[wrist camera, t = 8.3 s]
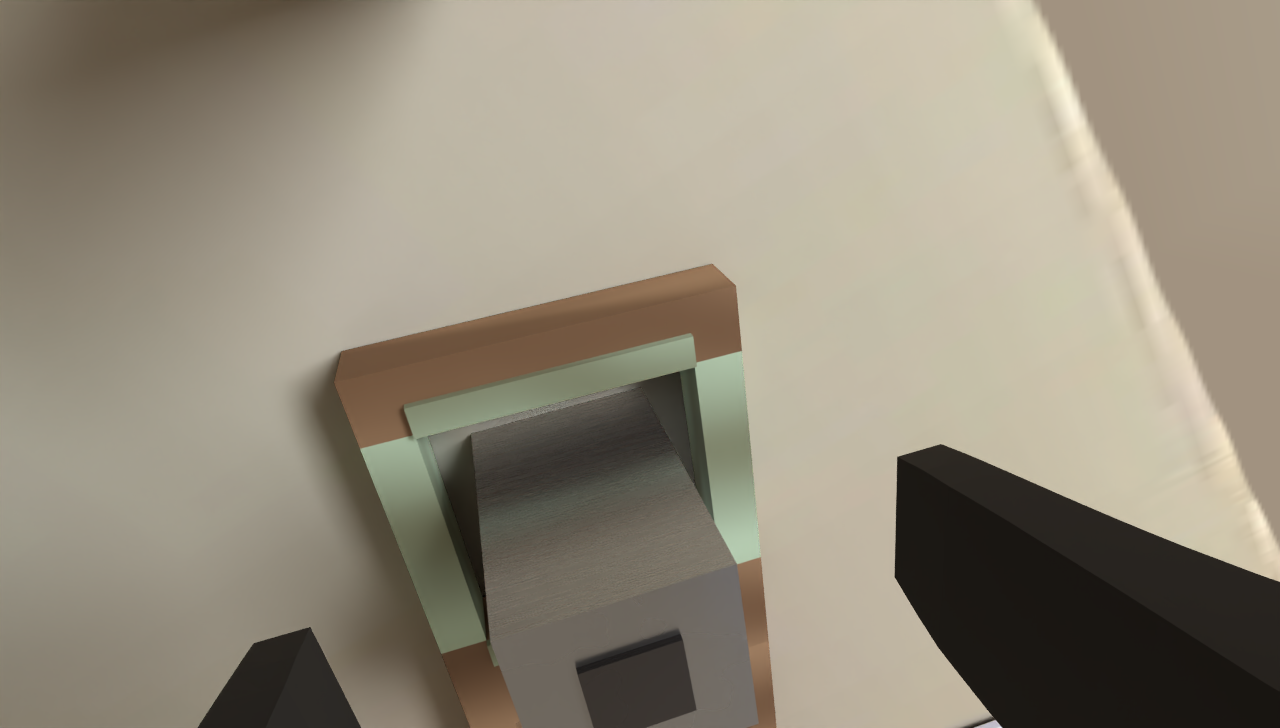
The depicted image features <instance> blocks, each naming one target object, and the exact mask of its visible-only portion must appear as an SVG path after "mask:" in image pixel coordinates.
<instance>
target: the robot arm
mask: <svg viewBox="0 0 1280 728" xmlns="http://www.w3.org/2000/svg"><path fill="white" fill-rule="evenodd" d="M895 578H896V580H897V582H898V583H899V585H900V587H901V588H902V590H903V592H904V593H905V595H906V597H907V598H908V600H909V602H910V603H911V605H912V607H913V608H914V610H915V612H916V613H917V615H918V617H919V618H920V620H921V621H922V623H923V624H924V626H925V627H926V629H927V631H928V632H929V634H930V635H931V637H932V638H933V640H934V642H935V643H936V645H937V646H938V648H939V649H940V650H941V652H942V653H943V654H944V655H945V657H946V658H947V659H948V661H949V662H950V663H951V664H952V666H953V667H954V668H955V670H956V671H957V672H958V673H959V675H960V676H961V677H962V678H963V680H964V681H965V682H966V683H967V685H968V686H969V687H970V688H971V690H972V691H973V692H974V693H975V695H976V696H977V697H978V699H979V700H980V701H981V702H982V704H983V705H984V706H985V707H986V709H987V710H988V711H989V712H990V713H991V715H992V716H993V717H994V718H995V720H994V721H991V722H988V723H985V724H982V725H980V726H977V727H974V728H1280V582H1278V581H1275V580H1272V579H1270V578H1267V577H1264V576H1261V575H1258V574H1256V573H1253V572H1250V571H1248V570H1245V569H1242V568H1240V567H1237V566H1234V565H1232V564H1229V563H1226V562H1224V561H1221V560H1218V559H1216V558H1213V557H1210V556H1208V555H1205V554H1203V553H1200V552H1197V551H1195V550H1192V549H1189V548H1187V547H1184V546H1181V545H1179V544H1176V543H1174V542H1171V541H1169V540H1167V539H1164V538H1162V537H1159V536H1157V535H1154V534H1152V533H1149V532H1147V531H1144V530H1142V529H1139V528H1137V527H1134V526H1132V525H1130V524H1127V523H1125V522H1122V521H1120V520H1118V519H1115V518H1113V517H1111V516H1108V515H1106V514H1103V513H1101V512H1099V511H1096V510H1094V509H1092V508H1089V507H1087V506H1085V505H1082V504H1080V503H1078V502H1075V501H1073V500H1071V499H1069V498H1066V497H1064V496H1062V495H1059V494H1057V493H1055V492H1052V491H1050V490H1048V489H1046V488H1043V487H1041V486H1039V485H1037V484H1034V483H1032V482H1030V481H1027V480H1025V479H1023V478H1021V477H1018V476H1016V475H1014V474H1011V473H1009V472H1007V471H1005V470H1002V469H1000V468H998V467H995V466H993V465H991V464H988V463H986V462H984V461H981V460H979V459H977V458H974V457H972V456H970V455H967V454H965V453H962V452H960V451H957V450H955V449H952V448H949V447H947V446H944V445H941V444H940V445H937V446H933V447H930V448H926V449H923V450H919V451H916V452H913V453H909V454H906V455H902V456H899V457H897V499H896V543H895ZM198 728H361V727H360V725H359V723H358V721H357V719H356V717H355V715H354V713H353V711H352V709H351V707H350V705H349V703H348V701H347V699H346V697H345V695H344V693H343V691H342V689H341V687H340V685H339V683H338V681H337V679H336V677H335V675H334V673H333V671H332V669H331V667H330V665H329V663H328V661H327V659H326V657H325V655H324V653H323V651H322V649H321V647H320V645H319V643H318V642H317V640H316V638H315V636H314V634H313V632H312V630H311V628H310V627H309V628H305V629H302V630H299V631H295V632H292V633H288V634H285V635H281V636H278V637H274V638H271V639H267V640H264V641H261V642H257V643H254V644H253V645H252V647H251V648H250V649H249V651H248V652H247V654H246V655H245V657H244V658H243V660H242V661H241V663H240V664H239V666H238V667H237V669H236V670H235V672H234V673H233V675H232V676H231V678H230V679H229V681H228V682H227V684H226V685H225V687H224V688H223V690H222V691H221V693H220V694H219V696H218V697H217V699H216V700H215V702H214V703H213V705H212V707H211V708H210V710H209V711H208V713H207V714H206V716H205V717H204V719H203V720H202V722H201V723H200V725H199V726H198Z"/></svg>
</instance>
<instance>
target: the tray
mask: <svg viewBox="0 0 1280 728" xmlns="http://www.w3.org/2000/svg"><path fill="white" fill-rule="evenodd" d="M679 371H680V377H681V384H682V391H683V399H684V406H685V413H686V420H687V427H688V435H689V442H690V449H691V456H692V463H693V471H694V478H695V485H696V489H697V491H698V493H699V495H700V497H701V499H702V501H703V502H704V504H705V506H706V508H707V510H708V512H709V513H710V515H711V517H712V519H713V521H714V523H715V524H716V526H717V528H718V530H719V532H720V534H721V535H722V537H723V539H724V541H725V543H726V545H727V546H728V548H729V550H730V552H731V554H732V556H733V558H734V559H735V561H736V563H737V568H738V575H739V582H740V590H741V597H742V604H743V612H744V619H745V626H746V634H747V641H748V648H749V656H750V663H751V670H752V678H753V685H754V692H755V700H756V707H757V714H758V722H759V724H756V725H753V726H750V727H747V728H776V718H775V707H774V696H773V685H772V674H771V664H770V653H769V642H768V631H767V620H766V609H765V598H764V587H763V576H762V566H761V555H760V544H759V533H758V522H757V511H756V500H755V489H754V478H753V468H752V457H751V446H750V435H749V424H748V413H747V402H746V391H745V380H744V370H743V359H742V348H741V337H740V326H739V315H738V304H737V293H736V285H735V284H734V283H732V282H731V281H730V280H729V279H728V278H727V277H726V276H725V275H724V274H723V273H722V272H721V271H720V270H718V269H717V268H716V267H715V266H714V265H713V264H710V265H706V266H702V267H698V268H693V269H689V270H685V271H681V272H676V273H672V274H668V275H664V276H659V277H655V278H651V279H647V280H642V281H638V282H634V283H630V284H625V285H621V286H617V287H613V288H608V289H604V290H600V291H596V292H591V293H587V294H583V295H579V296H574V297H570V298H566V299H562V300H557V301H553V302H549V303H545V304H540V305H536V306H532V307H528V308H523V309H519V310H515V311H511V312H506V313H502V314H498V315H494V316H489V317H485V318H481V319H477V320H472V321H468V322H464V323H460V324H455V325H451V326H447V327H443V328H438V329H434V330H430V331H426V332H421V333H417V334H413V335H409V336H405V337H400V338H396V339H392V340H388V341H383V342H379V343H375V344H371V345H366V346H362V347H358V348H354V349H349V350H345V351H342V352H341V356H340V360H339V364H338V368H337V372H336V376H335V380H334V384H335V387H336V389H337V392H338V394H339V397H340V400H341V402H342V405H343V407H344V410H345V412H346V415H347V417H348V420H349V422H350V425H351V427H352V430H353V432H354V435H355V437H356V440H357V442H358V445H359V447H360V450H361V453H362V455H363V458H364V460H365V463H366V465H367V468H368V470H369V473H370V475H371V478H372V480H373V483H374V485H375V488H376V490H377V493H378V495H379V498H380V501H381V503H382V506H383V508H384V511H385V513H386V516H387V518H388V521H389V523H390V526H391V528H392V531H393V533H394V536H395V538H396V541H397V543H398V546H399V549H400V551H401V554H402V556H403V559H404V561H405V564H406V566H407V569H408V571H409V574H410V576H411V579H412V581H413V584H414V586H415V589H416V591H417V594H418V597H419V599H420V602H421V604H422V607H423V609H424V612H425V614H426V617H427V619H428V622H429V624H430V627H431V629H432V632H433V634H434V637H435V639H436V642H437V645H438V647H439V650H440V652H441V655H442V657H443V660H444V662H445V665H446V667H447V670H448V672H449V675H450V677H451V680H452V682H453V685H454V687H455V690H456V693H457V695H458V698H459V700H460V703H461V705H462V708H463V710H464V713H465V715H466V718H467V720H468V723H469V725H470V728H522V725H521V722H520V720H519V717H518V714H517V712H516V709H515V706H514V704H513V701H512V698H511V696H510V693H509V690H508V688H507V685H506V682H505V680H504V677H503V674H502V672H501V669H500V666H499V664H498V661H497V658H496V656H495V653H494V650H493V648H492V645H491V642H490V633H489V622H488V611H487V601H486V597H484V598H483V597H482V594H481V591H480V589H479V586H478V583H477V580H476V577H475V574H474V571H473V568H472V565H471V562H470V559H469V556H468V553H467V550H466V547H465V544H464V541H463V539H462V536H461V533H460V530H459V527H458V524H457V521H456V518H455V515H454V512H453V509H452V506H451V503H450V500H449V497H448V494H447V491H446V489H445V486H444V483H443V480H442V477H441V474H440V471H439V468H438V465H437V462H436V459H435V456H434V453H433V450H432V447H431V444H430V441H429V438H428V436H430V435H434V434H438V433H442V432H445V431H449V430H453V429H457V428H461V427H465V426H469V425H473V424H477V423H480V422H484V421H488V420H492V419H496V418H500V417H504V416H508V415H511V414H515V413H519V412H523V411H527V410H531V409H535V408H539V407H543V406H546V405H550V404H554V403H558V402H562V401H566V400H570V399H574V398H578V397H581V396H585V395H589V394H593V393H597V392H601V391H605V390H609V389H613V388H616V387H620V386H624V385H628V384H632V383H636V382H640V381H644V380H648V379H651V378H655V377H659V376H663V375H667V374H671V373H675V372H679Z"/></svg>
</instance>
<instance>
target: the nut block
mask: <svg viewBox="0 0 1280 728" xmlns="http://www.w3.org/2000/svg"><path fill="white" fill-rule="evenodd" d="M471 438H472V449H473V460H474V471H475V482H476V493H477V503H478V514H479V525H480V536H481V547H482V557H483V568H484V579H485V590H486V601H487V611H488V622H489V633H490V642H491V645H492V648H493V650H494V653H495V656H496V658H497V661H498V664H499V666H500V669H501V672H502V674H503V677H504V680H505V682H506V685H507V688H508V690H509V693H510V696H511V698H512V701H513V704H514V706H515V709H516V712H517V714H518V717H519V720H520V722H521V725H522V728H747V727H750V726H753V725H756V724H759V722H758V714H757V707H756V700H755V692H754V685H753V678H752V670H751V663H750V656H749V648H748V641H747V634H746V626H745V619H744V612H743V604H742V597H741V590H740V582H739V575H738V568H737V563H736V561H735V559H734V558H733V556H732V554H731V552H730V550H729V548H728V546H727V545H726V543H725V541H724V539H723V537H722V535H721V534H720V532H719V530H718V528H717V526H716V524H715V523H714V521H713V519H712V517H711V515H710V513H709V512H708V510H707V508H706V506H705V504H704V502H703V501H702V499H701V497H700V495H699V493H698V491H697V489H696V488H695V486H694V484H693V482H692V480H691V478H690V477H689V475H688V473H687V471H686V469H685V467H684V466H683V464H682V462H681V460H680V458H679V456H678V455H677V453H676V451H675V449H674V447H673V445H672V444H671V442H670V440H669V438H668V436H667V434H666V432H665V431H664V429H663V427H662V425H661V423H660V421H659V420H658V418H657V416H656V414H655V412H654V410H653V409H652V407H651V405H650V403H649V401H648V399H647V398H646V396H645V394H644V392H643V390H642V388H641V387H639V388H636V389H632V390H628V391H625V392H621V393H618V394H614V395H610V396H607V397H603V398H599V399H596V400H592V401H588V402H585V403H581V404H578V405H574V406H570V407H567V408H563V409H559V410H556V411H552V412H549V413H545V414H541V415H538V416H534V417H530V418H527V419H523V420H519V421H516V422H512V423H509V424H505V425H501V426H498V427H494V428H490V429H487V430H483V431H479V432H476V433H472V434H471Z"/></svg>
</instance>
